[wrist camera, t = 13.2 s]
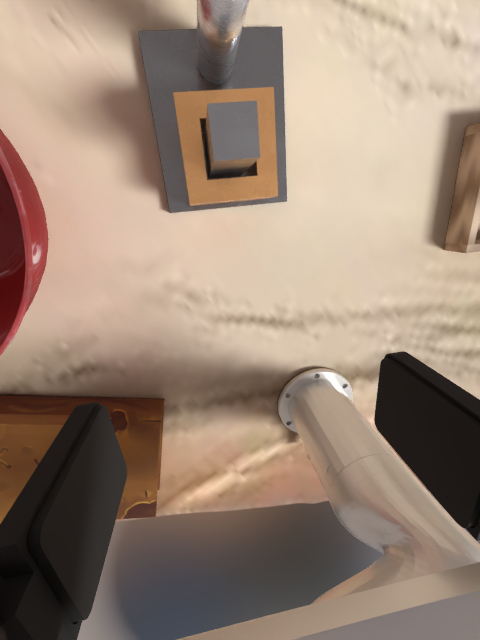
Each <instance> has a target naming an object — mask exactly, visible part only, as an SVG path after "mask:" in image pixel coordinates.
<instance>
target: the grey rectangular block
mask: <svg viewBox="0 0 480 640" xmlns="http://www.w3.org/2000/svg"><path fill="white" fill-rule="evenodd" d="M204 147H205V155H206V163H207V172H208V179H218V178H229V177H240V176H241V175H242V174H243V173H244V172H245V171H246V170H247V169H248V168H249V167H251V166H252V165H253V164H254V163H255V162H256V161H257V160H258V159H259V158H260V145H259V128H258V111H257V101H241V102H225V103H208V104H207V114H206V125H205V136H204Z"/></svg>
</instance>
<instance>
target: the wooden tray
mask: <svg viewBox="0 0 480 640" xmlns="http://www.w3.org/2000/svg"><path fill="white" fill-rule="evenodd" d="M479 221H480V122H479V123H476V124H473V125H470V126H467V127H466V129H465V134H464V140H463V145H462V151H461V157H460V162H459V168H458V174H457V179H456V185H455V190H454V196H453V202H452V207H451V213H450V219H449V224H448V230H447V235H446V241H445V247H444V250H447V251H455V252H462V253H470V252H478V251H480V239H476V235H477V230H478V226H479Z"/></svg>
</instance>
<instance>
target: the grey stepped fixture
mask: <svg viewBox="0 0 480 640" xmlns="http://www.w3.org/2000/svg"><path fill="white" fill-rule="evenodd" d="M248 2H249V0H197V29H189V30H157V31H138V34H139V40H140V45H141V51H142V57H143V62H144V68H145V74H146V79H147V85H148V91H149V97H150V102H151V108H152V114H153V119H154V125H155V131H156V136H157V142H158V148H159V153H160V159H161V165H162V171H163V176H164V182H165V188H166V193H167V199H168V205H169V210H170V213H176V212H186V211H196V210H206V209H216V208H226V207H236V206H246V205H257V204H267V203H277V202H286V201H287V185H286V149H285V113H284V76H283V40H282V27H253V28H242V27H243V23H244V19H245V15H246V11H247V7H248ZM241 101H257V111H258V128H259V145H260V158H259V159H258V160H257V161H256V162H255V163H254V164H253V165H252V166H251V167H249V168H248V169H247V170H246V171H245V172H244V173H243V174H242V175H241V176H240V177H229V178H218V179H208V172H207V163H206V155H205V147H204V136H205V125H206V114H207V104H208V103H225V102H241Z"/></svg>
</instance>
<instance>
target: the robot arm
mask: <svg viewBox="0 0 480 640" xmlns="http://www.w3.org/2000/svg"><path fill="white" fill-rule="evenodd" d="M352 399H353V393H352V389H351V386H350V384H349V382H348V381H347V380H346V379H345V377H344V376H342V375H341V374H340V373H338V372H336V371H334V370H331V369H326V368H318V369H311V370H308V371H305V372H303V373H301V374H299V375H297V376H296V377H294V378H293V379H292V380H291V381H290V382H289V383H288V384H287V385H286V386H285V387H284V389H283V390H282V392H281V394H280V397H279V400H278V412H279V415H280V418H281V420H282V422H283V423H284V425H285V426H286V427H287V428H288V429H290V430H291V431H293V432H296V433H298V434H299V436H300V438H301V441H302V443H303V445H304V447H305V449H306V451H307V457H308V459H309V460H311V462H312V464H313V466H314V469H315V471H316V473H317V475H318V477H319V479H320V482H321V484H322V486H323V488H324V490H325V492H326V494H327V497H328V499H329V501H330V503H331V505H332V507H333V510H334V512H335V514H336V515H337V517H338V519H339V520H340V522H341V523H342V524H343V526H344V527H345V528H346V529H347V530H348V531H349V532H350V533H351V534H353V535H354V536H355V537H356V538H358V539H359V540H361V541H362V542H364V543H366V544H367V545H369V546H371V547H373V548H374V549H376V550H378V551H380V552H382V553H384V554H383V556H382V557H381V558H380V559H378V560H377V561H375V562H374V563H373V564H371V566H370V567H368V568H366V569H365V570H363V571H361V572H360V573H358V574H357V575H355V576H353V577H351V578H349V579H348V580H346V581H344V582H343V583H341V584H339V585H338V586H336V587H334V588H332V589H331V590H329V591H327V592H326V593H324V594H323V595H322V596H320V597H319V598H317V599H316V600H315V601H314V602H313V603H312V604H311V605H308V606H304V607H300V608H297V609H292V610H289V611H284V612H281V613H277V614H273V615H269V616H265V617H261V618H257V619H254V620H250V621H246V622H242V623H238V624H235V625H231V626H227V627H223V628H219V629H216V630H212V631H208V632H205V633H200V634H197V635H193V636H189V637H185V638H181V639H178V640H480V544H479V543H478V542H477V541H478V540H480V400H479V399H477V398H476V397H474V396H473V395H471V394H470V393H468V392H467V391H465V390H464V389H462V388H461V387H459V386H457V385H456V384H454V383H453V382H451V381H450V380H448V379H447V378H445V377H444V376H442V375H441V374H439V373H437V372H436V371H434V370H433V369H431V368H430V367H428V366H427V365H425V364H424V363H422V362H421V361H419V360H417V359H416V358H414V357H413V356H411V355H410V354H408V353H406V352H397V353H391V354H387V355H386V356H385V358H384V359H383V360H382V361H381V365H380V374H379V383H378V392H377V401H376V410H375V425H376V427H377V429H378V431H379V432H380V433H381V434H382V435H383V437H384V438H385V439H386V440H387V441H388V443H389V444H390V445H391V446H392V447H393V448H394V450H395V451H396V452H397V453H398V454H399V456H400V457H401V458H402V459H403V460H404V461H405V463H406V464H407V465H408V466H409V467H410V469H411V470H412V471H413V472H414V473H415V474H416V476H417V477H418V478H419V479H420V480H421V482H422V483H423V484H424V485H425V486H426V487H427V489H428V490H429V491H430V492H431V493H432V494H433V496H434V497H435V498H436V499H437V500H438V502H439V503H440V504H441V505H442V506H443V507H442V506H441V505H440V504H439V503H438V502H437V501H436V500H435V499H434V498H433V497H432V495H431V494H430V493H429V492H428V491H427V490H426V489H425V488H424V486H423V485H422V484H421V483H420V482H419V481H418V479H417V478H416V477H415V476H414V475H413V474H412V472H411V471H410V470H409V469H408V468H407V466H406V465H405V464H404V463H403V462H402V461H401V459H400V458H399V457H398V456H397V454H396V453H395V452H394V451H393V450H392V449H391V447H390V446H389V445H388V444H387V443H386V441H385V440H384V439H383V438H382V437H381V435H380V434H379V433H378V432H377V431H376V429H375V428H374V427H373V426H372V425H371V423H370V422H369V421H368V420H367V419H366V417H365V416H364V415H363V414H362V413H361V412H360V410H359V409H358V408H357V407H356V406H355V404H354V403H353V402H352ZM126 479H127V466H126V463H125V460H124V457H123V454H122V451H121V448H120V445H119V442H118V440H117V437H116V434H115V431H114V428H113V425H112V422H111V419H110V416H109V413H108V410H107V408H106V406H105V405H102V406H101V405H100V403H99V402H92V403H85V404H79V405H77V406H76V407H75V408H74V410H73V411H72V413H71V414H70V416H69V418H68V419H67V421H66V422H65V424H64V425H63V427H62V429H61V430H60V432H59V433H58V435H57V436H56V438H55V439H54V441H53V443H52V444H51V446H50V447H49V449H48V450H47V452H46V454H45V455H44V457H43V458H42V460H41V461H40V463H39V464H38V466H37V468H36V469H35V471H34V472H33V474H32V475H31V477H30V479H29V480H28V482H27V483H26V485H25V486H24V488H23V489H22V491H21V493H20V494H19V496H18V497H17V499H16V500H15V502H14V504H13V505H12V507H11V508H10V510H9V511H8V513H7V514H6V516H5V518H4V519H3V521H2V522H1V524H0V640H77V637H78V633H79V630H80V626H81V623H82V620H85V619H87V618H88V616H89V614H90V612H91V609H92V605H93V602H94V598H95V595H96V591H97V587H98V584H99V580H100V576H101V572H102V569H103V565H104V561H105V558H106V554H107V550H108V546H109V542H110V539H111V535H112V531H113V527H114V524H115V520H116V517H117V513H118V509H119V506H120V502H121V498H122V494H123V491H124V487H125V483H126ZM444 509H445V510H446V511H447V512H448V513H447V512H446V511H445V510H444ZM462 527H463V528H466V529H467V530H468V531H469V532H470V534H471V535H472V536H473V537H474V538H475V539H476V540H475V539H474V538H473V537H472V536H471V535H470V534H469V533H468V532H466V531H465V530H464V529H463V528H462Z"/></svg>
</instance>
